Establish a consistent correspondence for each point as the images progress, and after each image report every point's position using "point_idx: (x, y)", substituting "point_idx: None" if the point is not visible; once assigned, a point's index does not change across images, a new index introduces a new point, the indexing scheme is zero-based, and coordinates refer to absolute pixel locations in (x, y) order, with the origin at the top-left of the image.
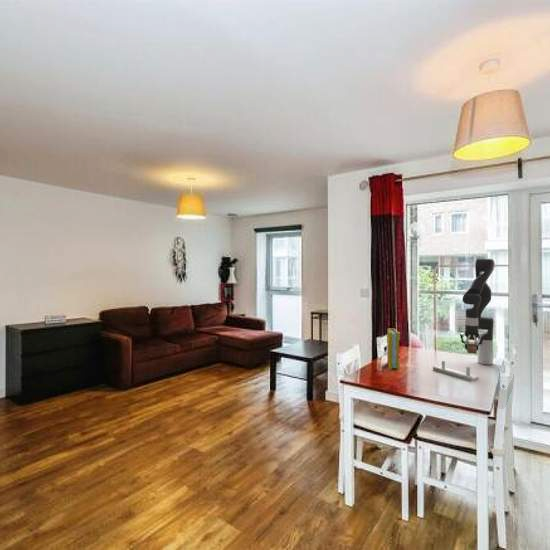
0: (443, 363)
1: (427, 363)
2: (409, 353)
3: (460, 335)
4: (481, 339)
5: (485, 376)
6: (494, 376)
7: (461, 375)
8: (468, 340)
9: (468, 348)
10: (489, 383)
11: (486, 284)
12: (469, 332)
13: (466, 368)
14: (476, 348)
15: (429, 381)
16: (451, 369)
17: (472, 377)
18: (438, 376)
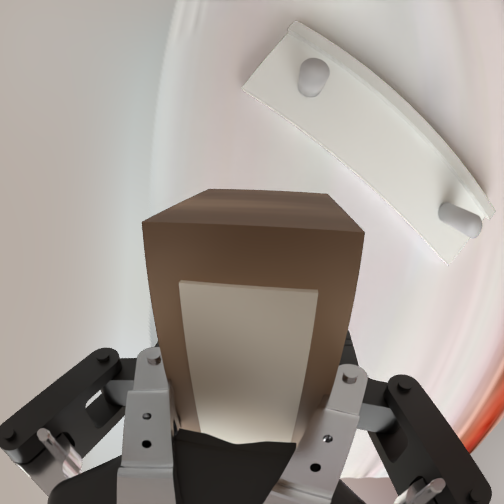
0: (466, 210)
1: (472, 326)
2: (468, 422)
3: (480, 483)
4: (53, 404)
5: (197, 171)
6: (150, 196)
7: (352, 60)
8: (312, 419)
9: (325, 206)
10: (192, 36)
11: None
12: None
13: (327, 68)
14: (181, 203)
15: (475, 4)
16: (404, 204)
17: (282, 51)
18: (462, 80)
